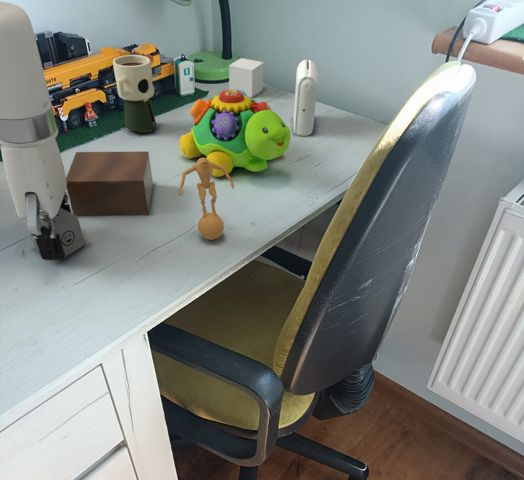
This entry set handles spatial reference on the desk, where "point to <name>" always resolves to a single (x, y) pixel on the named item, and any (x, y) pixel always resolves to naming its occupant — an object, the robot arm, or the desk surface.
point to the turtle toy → (235, 132)
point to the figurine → (209, 222)
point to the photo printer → (305, 97)
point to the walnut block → (110, 183)
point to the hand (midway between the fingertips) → (59, 242)
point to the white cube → (246, 76)
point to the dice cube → (65, 230)
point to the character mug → (135, 91)
